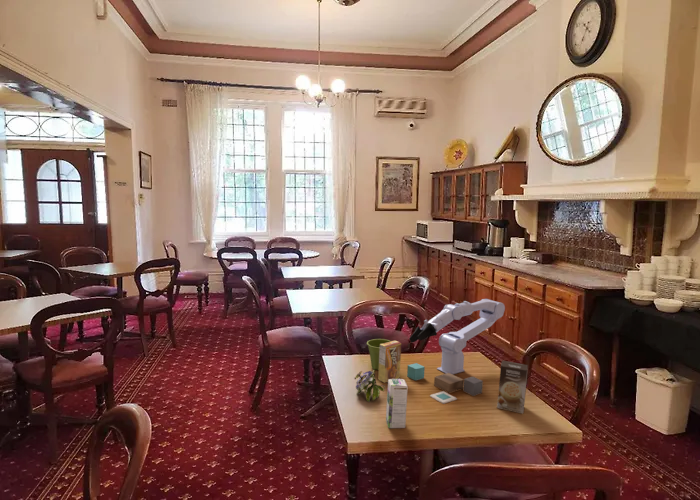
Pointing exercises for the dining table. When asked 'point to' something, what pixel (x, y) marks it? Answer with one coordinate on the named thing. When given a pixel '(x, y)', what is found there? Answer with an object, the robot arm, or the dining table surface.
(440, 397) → the card
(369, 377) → the passion flower
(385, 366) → the candy box
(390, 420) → the syrup box
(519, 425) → the dining table surface
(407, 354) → the dining table surface
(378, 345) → the plant pot
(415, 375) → the teal cube
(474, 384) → the charcoal cube
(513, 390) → the coffee box
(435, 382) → the walnut block
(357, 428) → the dining table surface
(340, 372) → the dining table surface
